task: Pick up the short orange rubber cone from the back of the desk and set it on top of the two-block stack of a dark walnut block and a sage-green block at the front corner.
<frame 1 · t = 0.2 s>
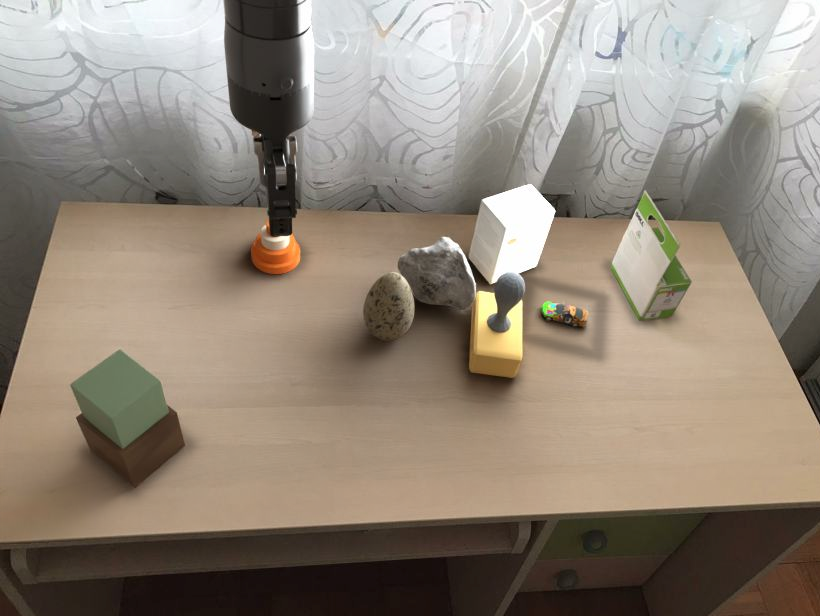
hand: (276, 205, 78), 16 cm above the table, tool pointing down, fingers open, 8 cm apart
ink box: (639, 292, 102), on the table
sage block: (126, 414, 71), point 6 cm above the table, touching walnut block
walnut block: (138, 448, 76), on the table, touching sage block
toy car: (562, 318, 97), on the table
cone: (276, 256, 95), on the table
small box: (501, 263, 101), on the table
stone: (431, 301, 95), on the table
decorative egg: (385, 333, 91), on the table
rubber stamp: (492, 343, 92), on the table
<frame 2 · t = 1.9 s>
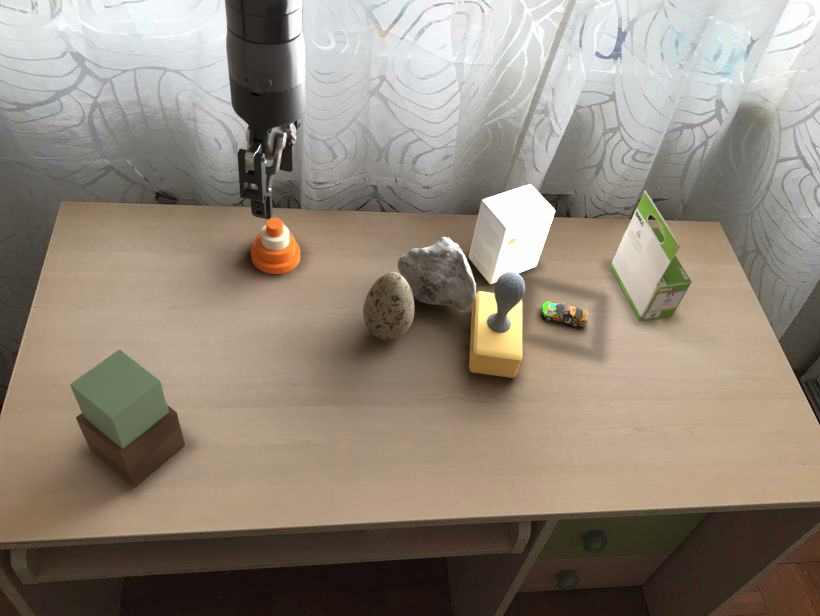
hand: (273, 191, 87), 11 cm above the table, tool pointing down, fingers open, 8 cm apart
nothing on the table moved.
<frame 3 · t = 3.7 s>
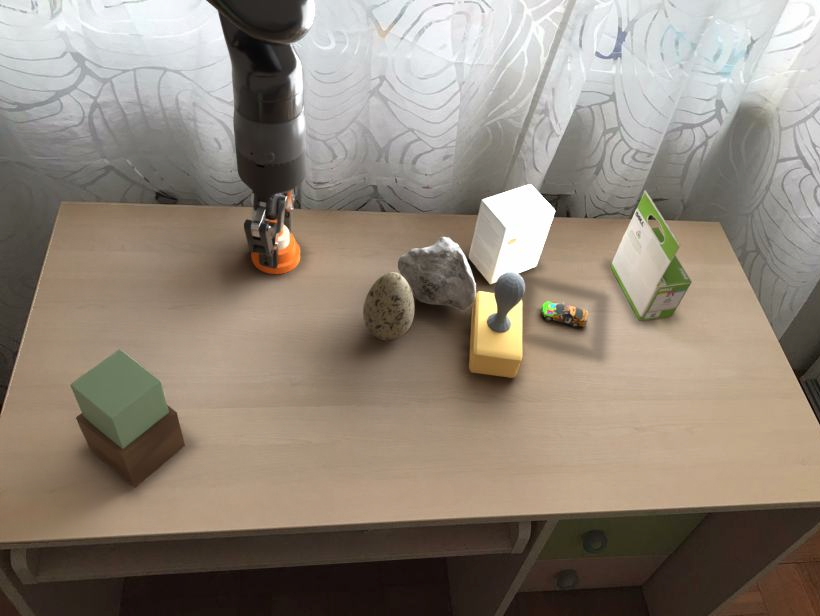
hand: (275, 250, 94), 1 cm above the table, tool pointing down, fingers closed on cone, 5 cm apart
cone: (276, 256, 95), on the table, touching gripper
everything else where it was.
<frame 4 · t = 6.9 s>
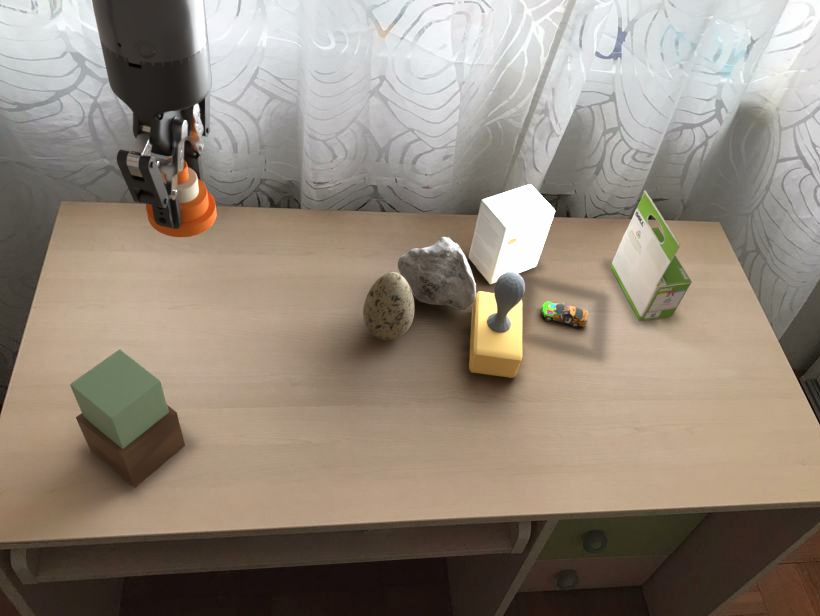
hand: (180, 204, 68), 22 cm above the table, tool pointing down, fingers closed on cone, 5 cm apart
cone: (182, 214, 69), point 20 cm above the table, touching gripper
everything else where it was.
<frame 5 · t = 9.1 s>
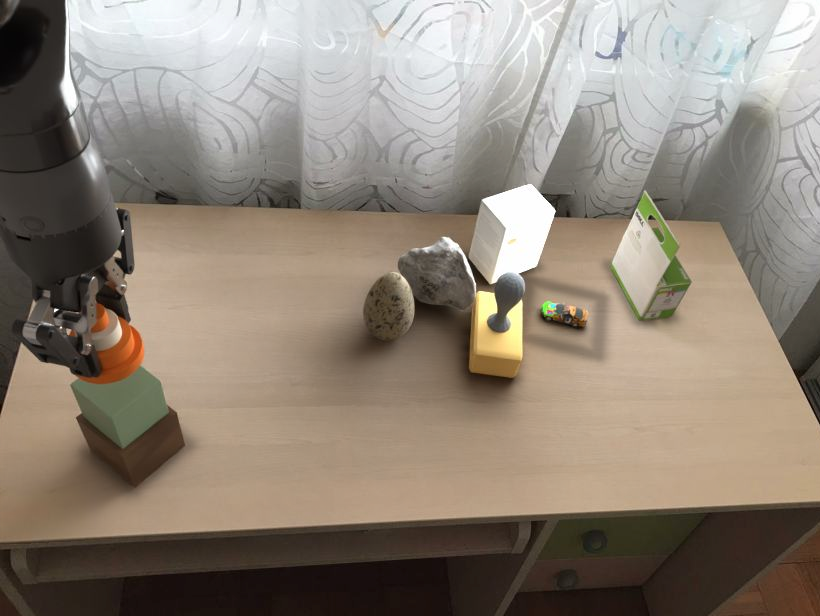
hand: (103, 346, 63), 17 cm above the table, tool pointing down, fingers closed on cone, 5 cm apart
cone: (107, 355, 64), point 16 cm above the table, touching gripper
everything else where it was.
when the fingers open (13 cm above the table, at t = 10.7 s): cone stays where it is, resting on sage block.
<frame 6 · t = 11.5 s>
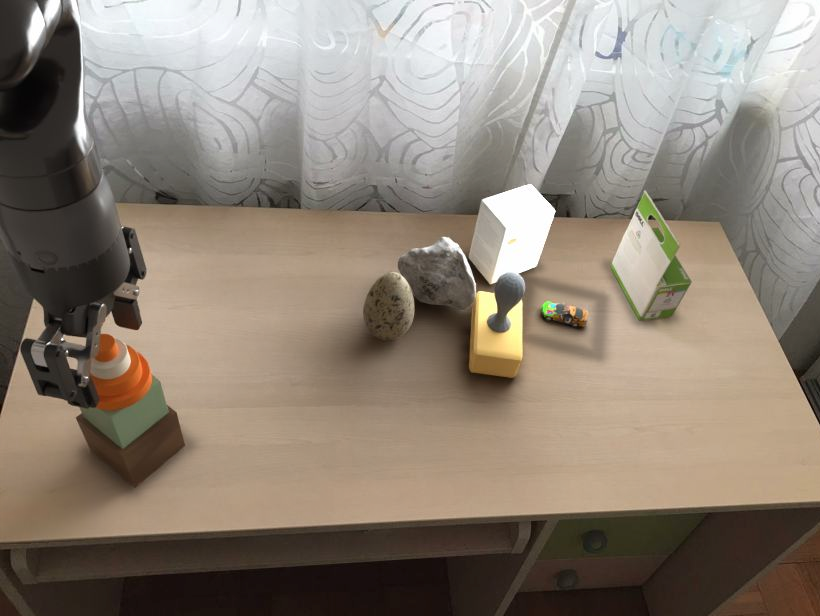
hand: (108, 362, 65), 15 cm above the table, tool pointing down, fingers open, 8 cm apart
sage block: (126, 414, 71), point 6 cm above the table, touching cone, walnut block
cone: (116, 382, 67), point 12 cm above the table, touching sage block
everything else where it was.
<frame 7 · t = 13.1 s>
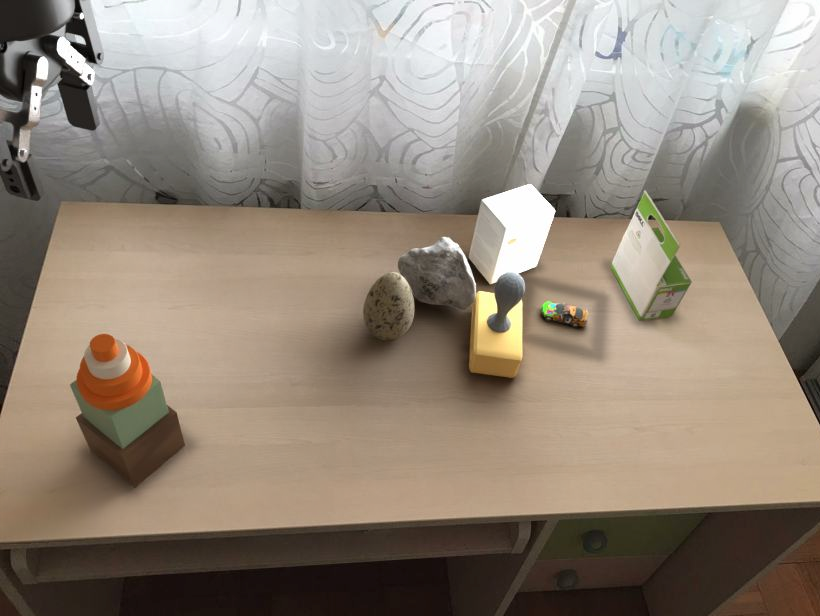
hand: (58, 159, 56), 31 cm above the table, tool pointing down, fingers open, 8 cm apart
nothing on the table moved.
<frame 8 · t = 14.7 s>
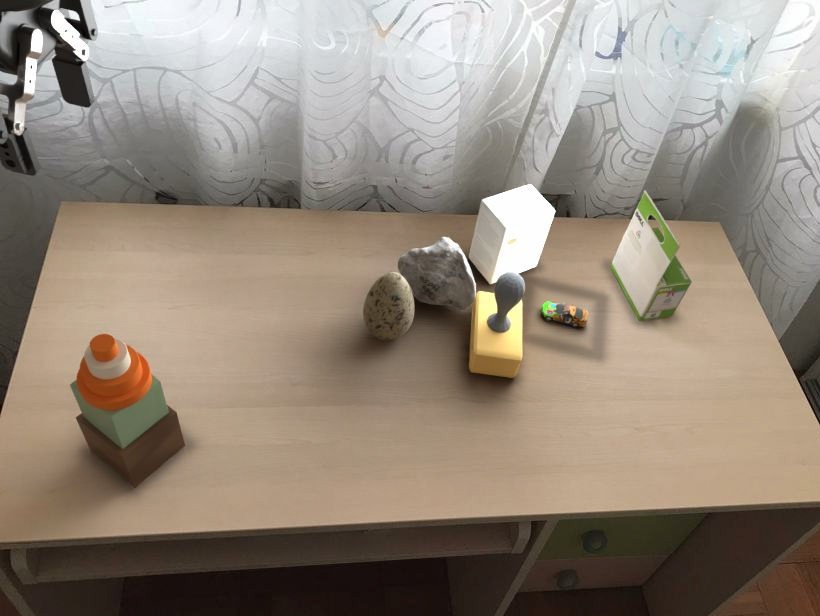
hand: (53, 135, 56), 32 cm above the table, tool pointing down, fingers open, 8 cm apart
nothing on the table moved.
at the end: cone 0.1 cm off-centre on the sage block, point 5.4 cm above the sage block's base; cone tilted 0°; sage block tilted 0° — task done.
